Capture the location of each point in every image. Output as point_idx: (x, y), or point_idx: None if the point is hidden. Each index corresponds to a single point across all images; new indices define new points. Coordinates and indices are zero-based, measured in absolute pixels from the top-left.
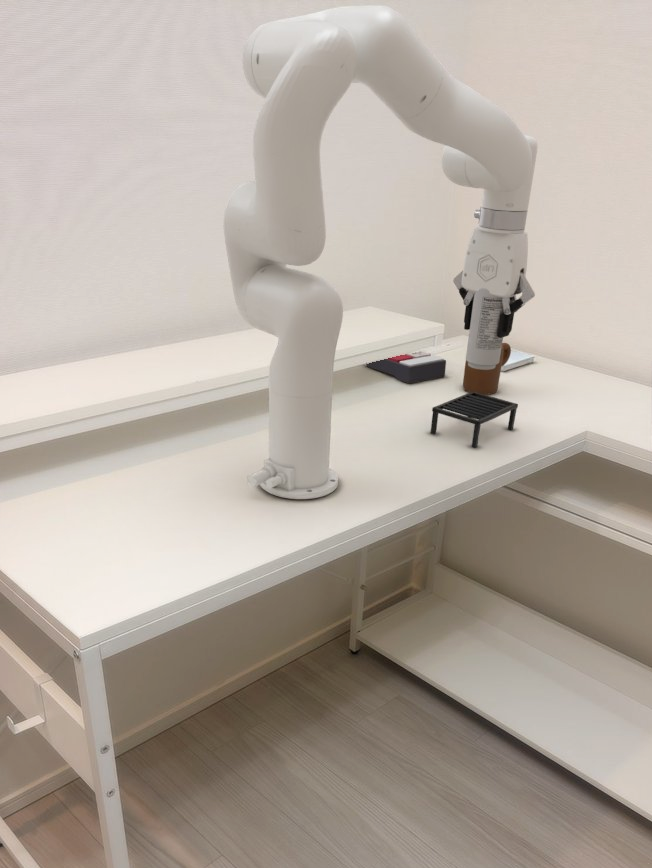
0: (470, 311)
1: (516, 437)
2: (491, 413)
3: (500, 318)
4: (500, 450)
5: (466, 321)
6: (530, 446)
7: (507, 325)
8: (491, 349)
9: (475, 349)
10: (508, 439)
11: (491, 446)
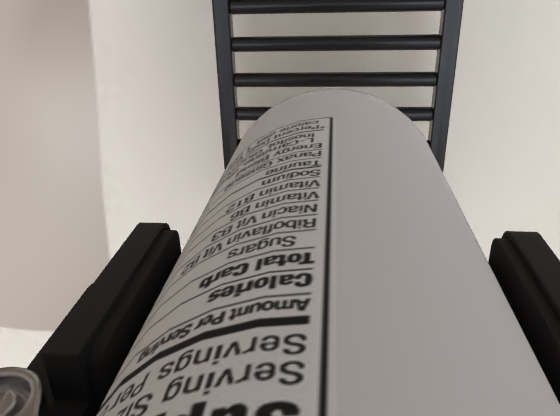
0: (557, 352)
1: (200, 154)
2: (234, 81)
3: (100, 319)
4: (163, 6)
5: (544, 267)
6: (125, 118)
7: (70, 313)
8: (225, 170)
9: (332, 113)
10: (206, 119)
11: (205, 15)
